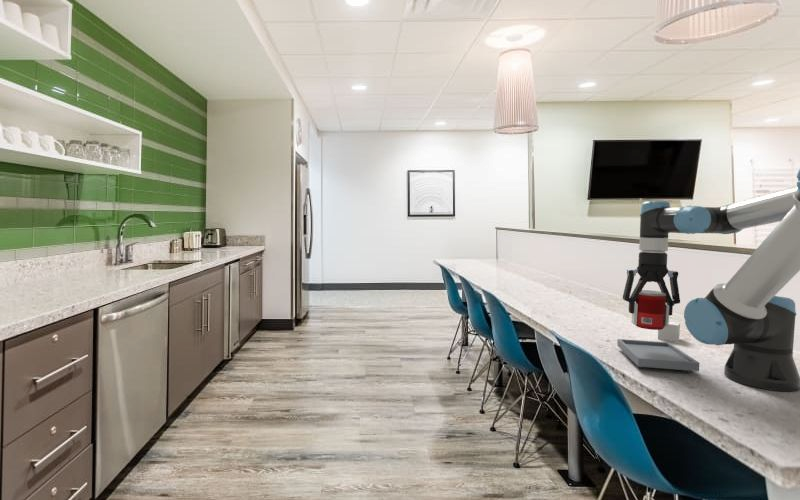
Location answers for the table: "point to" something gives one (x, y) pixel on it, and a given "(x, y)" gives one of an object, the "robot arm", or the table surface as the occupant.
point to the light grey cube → (670, 332)
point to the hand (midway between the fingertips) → (649, 324)
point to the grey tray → (657, 355)
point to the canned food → (651, 310)
